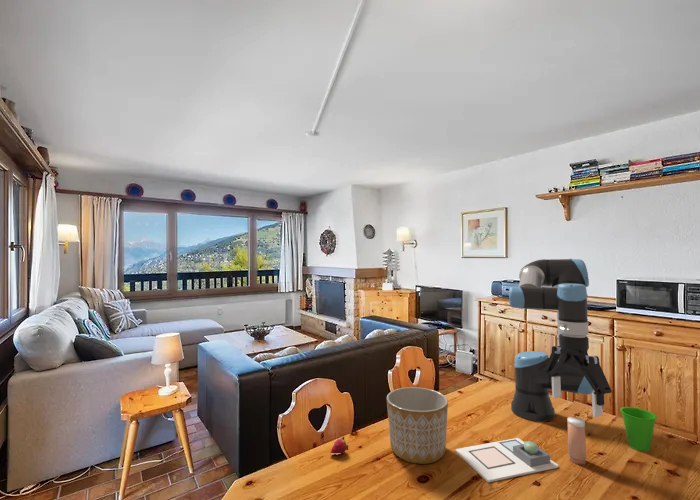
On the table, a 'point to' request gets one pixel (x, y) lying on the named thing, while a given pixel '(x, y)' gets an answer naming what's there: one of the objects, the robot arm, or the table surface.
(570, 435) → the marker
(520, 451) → the button housing
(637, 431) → the cup
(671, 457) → the table surface
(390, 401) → the planter
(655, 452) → the table surface
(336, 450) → the fruit
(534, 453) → the button
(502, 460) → the sheet
